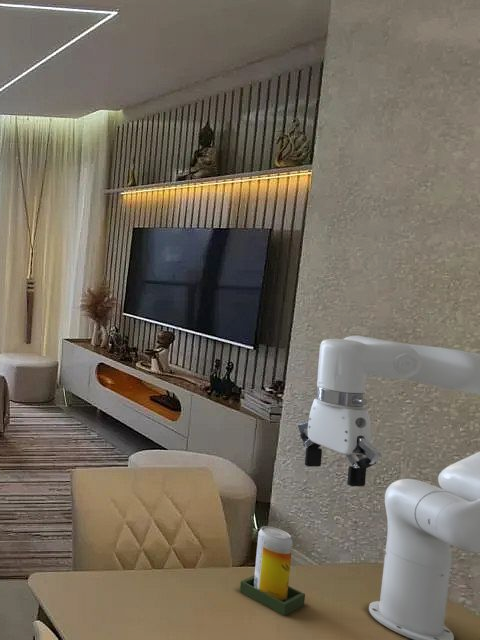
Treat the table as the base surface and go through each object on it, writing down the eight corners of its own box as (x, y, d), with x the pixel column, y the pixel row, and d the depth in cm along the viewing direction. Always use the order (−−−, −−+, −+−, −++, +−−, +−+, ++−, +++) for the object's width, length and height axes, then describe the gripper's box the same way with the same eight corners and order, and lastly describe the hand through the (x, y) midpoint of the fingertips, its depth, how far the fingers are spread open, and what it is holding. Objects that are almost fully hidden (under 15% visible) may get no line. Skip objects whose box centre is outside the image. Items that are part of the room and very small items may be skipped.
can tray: (259, 582, 129) (260, 572, 129) (304, 604, 121) (305, 593, 121) (239, 591, 125) (240, 581, 125) (284, 615, 117) (285, 604, 117)
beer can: (293, 605, 120) (299, 541, 119) (262, 601, 121) (268, 537, 120) (276, 588, 126) (282, 527, 125) (247, 584, 127) (253, 523, 126)
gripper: (400, 410, 105) (393, 494, 106) (318, 386, 123) (313, 459, 124) (363, 409, 105) (356, 494, 106) (287, 386, 122) (282, 459, 123)
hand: (333, 475), depth 115 cm, fingers open, 9 cm apart
